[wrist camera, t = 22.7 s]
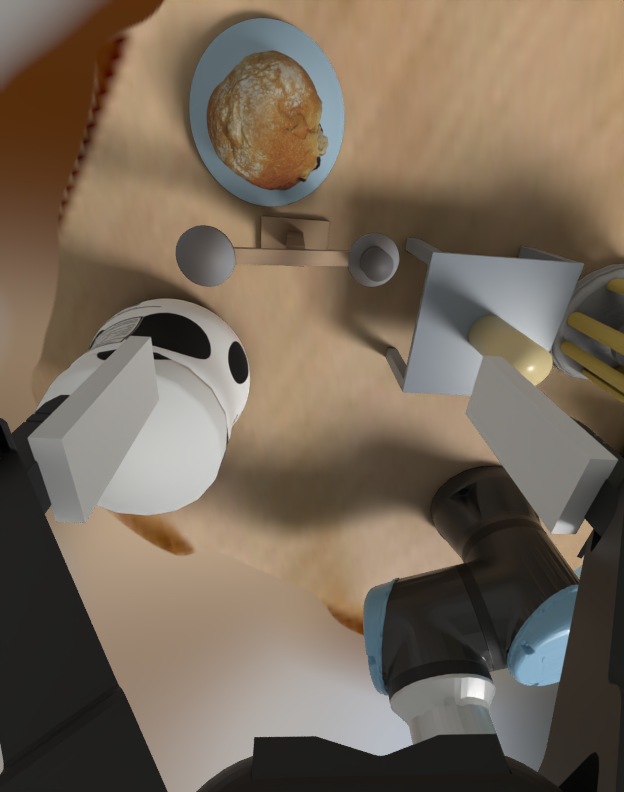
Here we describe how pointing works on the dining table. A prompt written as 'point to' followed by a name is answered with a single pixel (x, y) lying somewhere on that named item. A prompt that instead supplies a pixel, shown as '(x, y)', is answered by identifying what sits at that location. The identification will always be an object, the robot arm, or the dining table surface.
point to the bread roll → (267, 121)
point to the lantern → (594, 331)
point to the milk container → (171, 402)
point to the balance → (284, 251)
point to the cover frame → (483, 316)
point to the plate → (221, 62)
